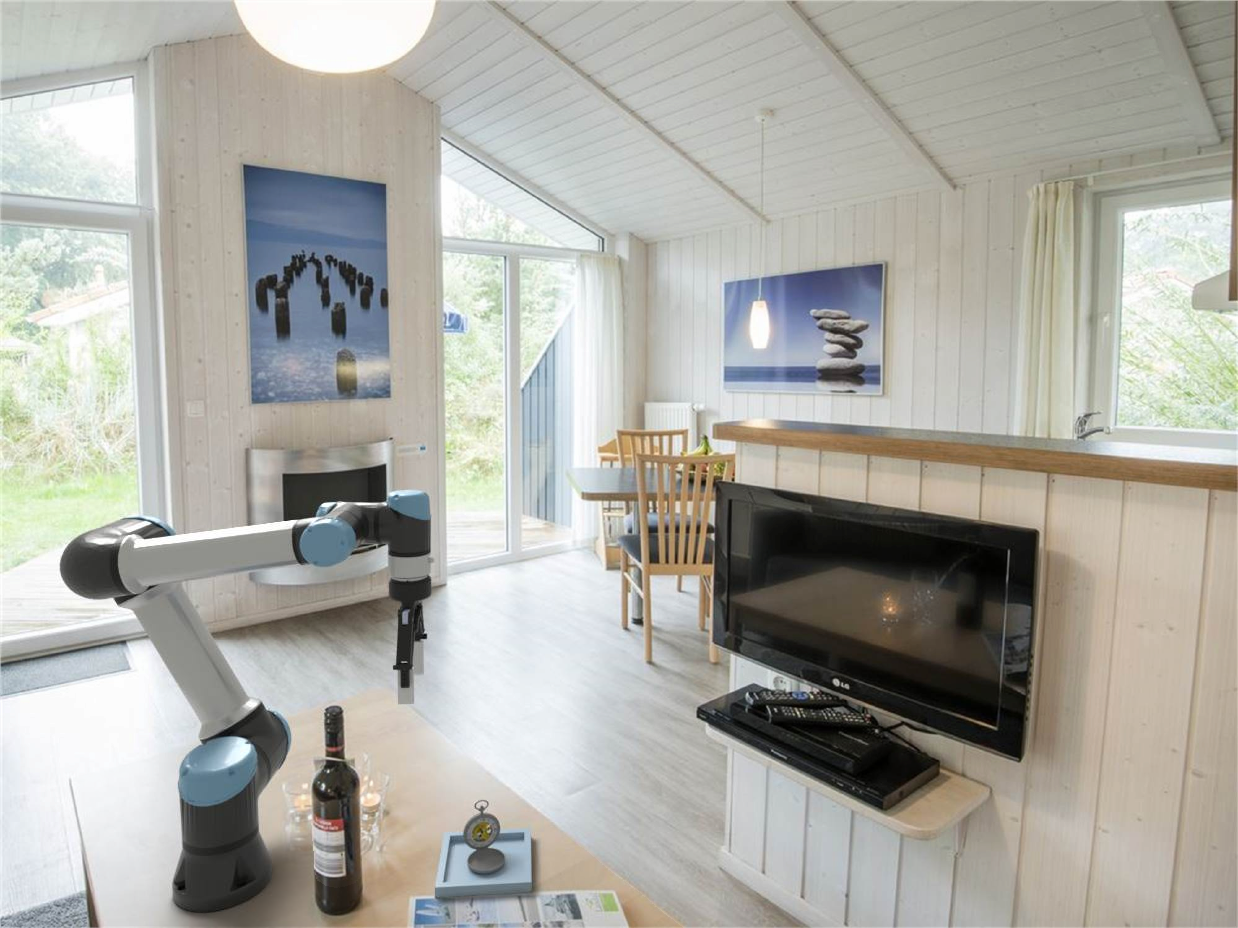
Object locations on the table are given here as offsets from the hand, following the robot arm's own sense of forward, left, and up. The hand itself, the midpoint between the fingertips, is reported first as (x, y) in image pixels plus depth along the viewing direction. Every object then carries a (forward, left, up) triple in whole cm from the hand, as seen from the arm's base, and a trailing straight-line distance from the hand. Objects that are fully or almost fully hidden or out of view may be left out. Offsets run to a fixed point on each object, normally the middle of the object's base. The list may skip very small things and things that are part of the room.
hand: (411, 688), depth 149 cm
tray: (+14, -11, -29) cm, 34 cm away
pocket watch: (+14, -10, -28) cm, 33 cm away
